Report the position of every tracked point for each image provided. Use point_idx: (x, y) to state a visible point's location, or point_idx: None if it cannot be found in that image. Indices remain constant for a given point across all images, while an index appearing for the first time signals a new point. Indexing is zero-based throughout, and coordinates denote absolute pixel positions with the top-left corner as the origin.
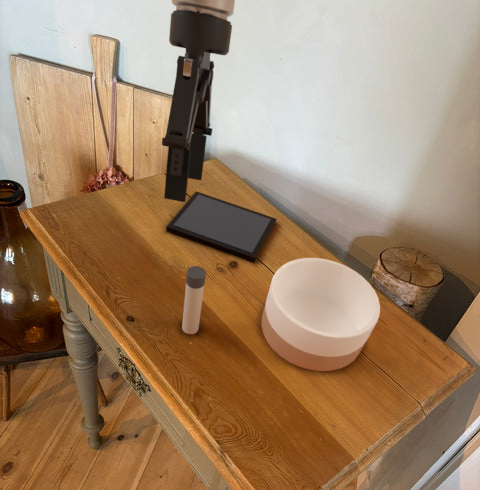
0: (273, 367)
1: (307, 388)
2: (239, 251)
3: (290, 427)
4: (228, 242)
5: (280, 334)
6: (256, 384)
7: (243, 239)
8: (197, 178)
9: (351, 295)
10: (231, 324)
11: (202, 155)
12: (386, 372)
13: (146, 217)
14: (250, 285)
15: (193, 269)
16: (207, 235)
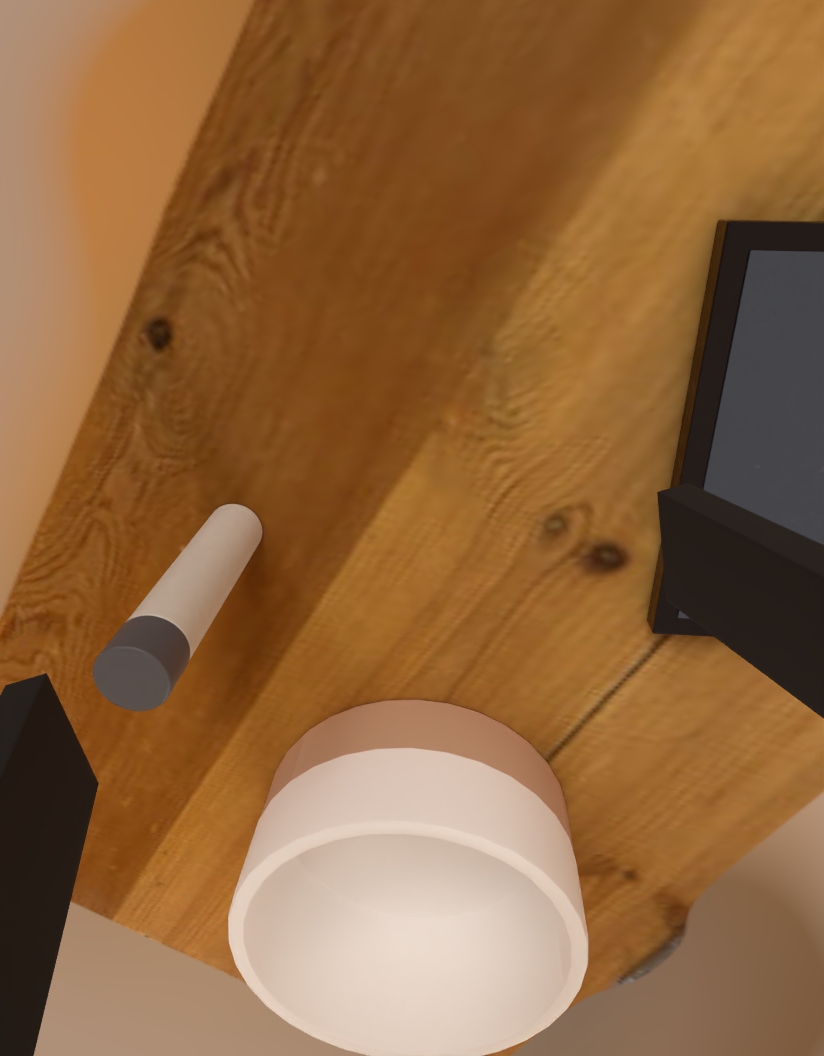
0: (235, 758)
1: (221, 831)
2: None
3: (100, 816)
4: None
5: (265, 812)
6: (161, 734)
7: None
8: (668, 584)
9: (528, 945)
10: (319, 630)
11: (778, 679)
12: None
13: (804, 59)
14: (520, 637)
15: (136, 666)
16: (726, 427)
